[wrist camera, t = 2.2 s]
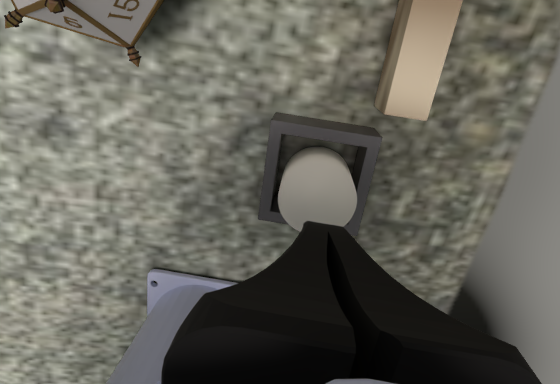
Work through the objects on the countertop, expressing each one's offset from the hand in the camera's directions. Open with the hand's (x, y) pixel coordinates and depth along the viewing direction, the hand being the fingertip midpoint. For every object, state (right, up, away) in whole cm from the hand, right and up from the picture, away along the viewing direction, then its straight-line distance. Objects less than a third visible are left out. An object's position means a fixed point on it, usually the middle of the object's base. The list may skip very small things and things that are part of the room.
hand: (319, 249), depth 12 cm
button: (+1, +3, +7) cm, 7 cm away
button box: (+1, +3, +9) cm, 10 cm away
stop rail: (+6, +11, +6) cm, 14 cm away
